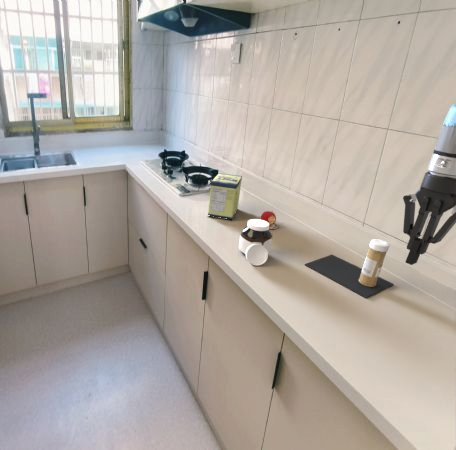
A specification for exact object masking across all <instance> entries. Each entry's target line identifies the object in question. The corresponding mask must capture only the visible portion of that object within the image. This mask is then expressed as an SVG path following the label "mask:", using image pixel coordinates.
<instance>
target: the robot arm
mask: <svg viewBox="0 0 456 450" xmlns="http://www.w3.org/2000/svg"><path fill="white" fill-rule="evenodd" d="M427 170H428V171H427V172H425V173H424V176H423V178H422V180H421V183H420V186H419V188H418V190H417V191H415V193H413V194H411V193H409V194H406V195H403V197H402V200H403V203H404V215H403V229H402V232H403V234H405V235H407V236H408V237H409V239H408V242H407V245H406V250H408V251H409V252H408V254H407V257H406V259H405V264H408V265H410V266H412V265H415V264H417V263H418V261H419V258H420V255H424V254H426V252H427V250H428V248H429V246H430V244H433V245H435V244H438V243H440V242H442V240H444V238H445V237H446V235H447V234H448V233H449V232H450V231H451V230H452V228H454V226H455V225H456V103H454V104H452V105H451V106H450V108H449V110H448V112H447V114H446V116H445V118H444V121H443V122H442V126H441V129H440V133H439V135H438V138H437V141H436V144H435V146H434V150H433V151H432V154H431V157H430V160H429V162H428V165H427ZM416 202H417V203H418V206H419V208H418V211H417V213H418V214H417V217H416V219H415V214H416ZM451 209H452V210H451ZM449 210H451V214H452V215H450V216H449V217H448V218H447V220H446V221H445V222H444V223H443V225H442V226H441V227H440V228H439V229H438V230H437V228H438V225H439V222H440V220H441V218H442V217H443V215H444V213H447V212H448V211H449ZM429 214H430V216H429ZM428 217H429V220H428ZM427 220H428V222H427ZM426 222H427V225H426ZM425 225H426V227H425ZM424 227H425V229H424ZM423 230H424V232H423ZM436 230H437V232H436ZM422 232H423V234H422Z"/></svg>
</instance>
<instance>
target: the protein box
mask: <svg viewBox="0 0 456 450" xmlns="http://www.w3.org/2000/svg"><path fill="white" fill-rule="evenodd" d="M242 180H243V176H242V175H235V174H228V173H222V172H221V173H220V172H219V173H218V174H217V175H216V176H214V178H213V179H212V181H210V189H209V191H210V192H209V201H208V211H207V213H208V214H207V216H208V215H210V216H214V217H221V218H227V219H232V218H233V219H234V217H235V215H236V213H237V211H238V209H237V208H239V202H240V193H241V187H242ZM236 210H237V211H236ZM235 212H236V213H235ZM234 214H235V215H234ZM233 216H234V217H233ZM214 217H213V218H214ZM233 219H232V220H233Z"/></svg>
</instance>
